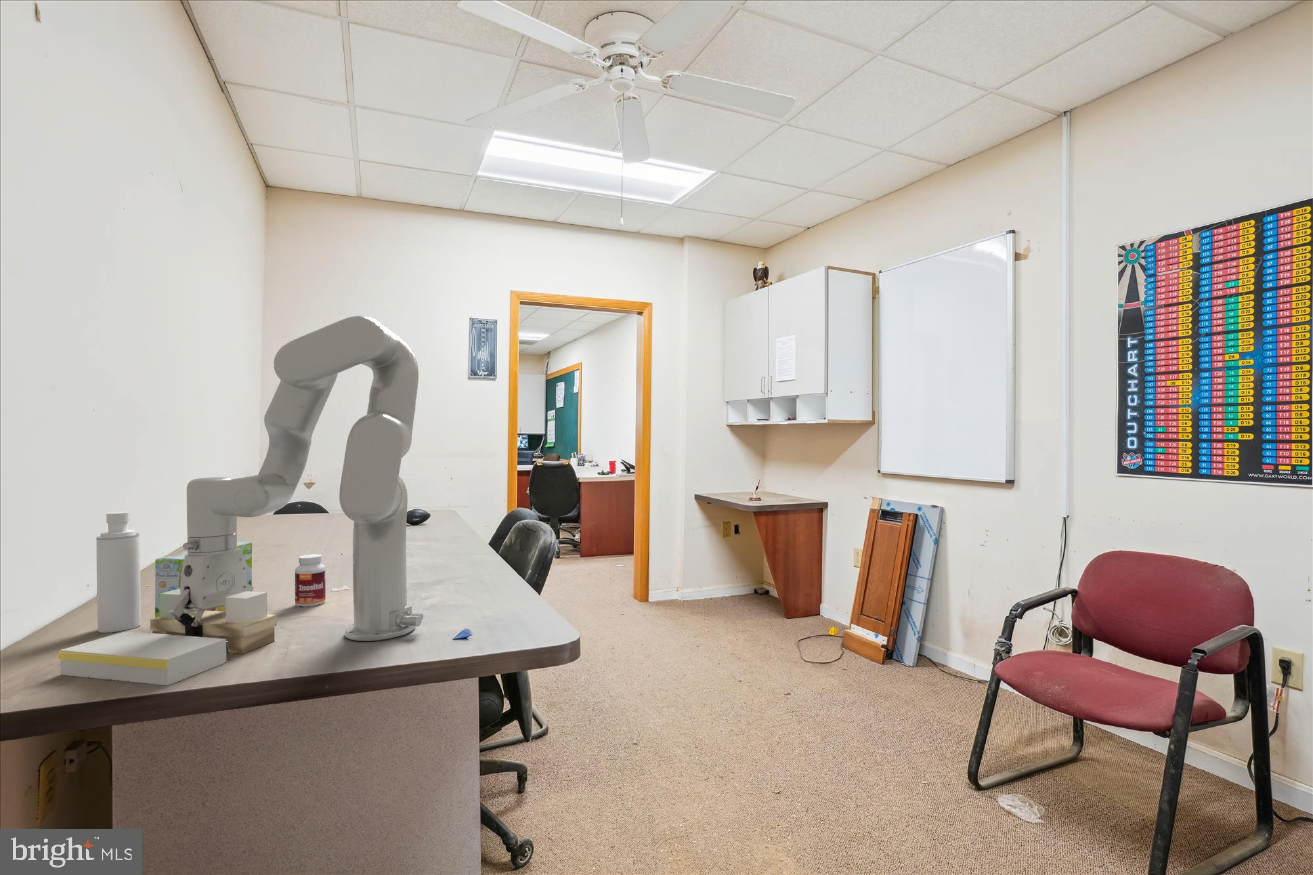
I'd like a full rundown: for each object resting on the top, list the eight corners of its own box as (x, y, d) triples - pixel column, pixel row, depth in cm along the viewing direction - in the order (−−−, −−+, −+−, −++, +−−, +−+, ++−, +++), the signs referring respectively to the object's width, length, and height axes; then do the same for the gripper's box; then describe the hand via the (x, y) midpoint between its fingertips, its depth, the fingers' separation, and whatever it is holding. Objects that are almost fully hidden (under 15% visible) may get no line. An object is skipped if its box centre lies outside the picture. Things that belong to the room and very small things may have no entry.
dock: (226, 662, 106) (225, 638, 106) (165, 686, 96) (165, 660, 96) (125, 653, 112) (125, 631, 112) (58, 675, 102) (58, 650, 102)
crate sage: (202, 612, 120) (201, 588, 120) (179, 619, 115) (179, 594, 115) (183, 611, 121) (183, 587, 121) (160, 617, 116) (159, 593, 116)
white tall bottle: (90, 630, 126) (88, 505, 126) (129, 621, 132) (127, 502, 132) (109, 634, 123) (107, 507, 123) (148, 624, 129) (146, 503, 129)
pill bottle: (296, 609, 140) (295, 559, 140) (293, 603, 145) (292, 555, 145) (327, 604, 143) (327, 556, 143) (323, 599, 148) (323, 552, 148)
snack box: (181, 636, 122) (180, 558, 122) (153, 636, 122) (152, 558, 122) (254, 606, 143) (253, 540, 143) (229, 606, 143) (228, 540, 143)
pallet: (276, 641, 117) (276, 614, 117) (244, 654, 110) (243, 625, 110) (187, 634, 122) (186, 609, 122) (150, 646, 115) (150, 619, 115)
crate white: (267, 616, 116) (267, 592, 116) (246, 623, 112) (246, 598, 112) (247, 615, 117) (247, 591, 117) (225, 622, 113) (225, 597, 113)
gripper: (183, 553, 107) (184, 657, 107) (268, 537, 124) (269, 627, 124) (148, 552, 109) (150, 654, 109) (237, 536, 126) (238, 625, 126)
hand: (214, 639), depth 116 cm, fingers closed on pallet, 7 cm apart
